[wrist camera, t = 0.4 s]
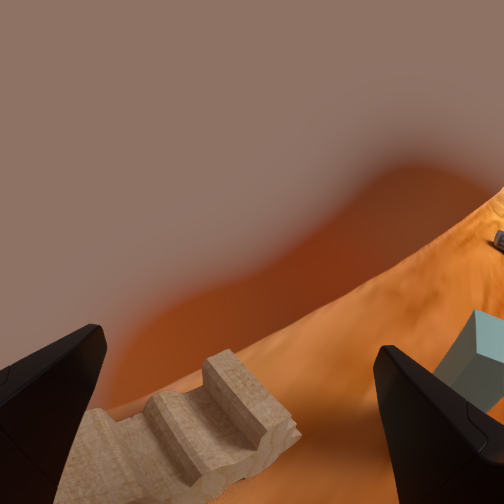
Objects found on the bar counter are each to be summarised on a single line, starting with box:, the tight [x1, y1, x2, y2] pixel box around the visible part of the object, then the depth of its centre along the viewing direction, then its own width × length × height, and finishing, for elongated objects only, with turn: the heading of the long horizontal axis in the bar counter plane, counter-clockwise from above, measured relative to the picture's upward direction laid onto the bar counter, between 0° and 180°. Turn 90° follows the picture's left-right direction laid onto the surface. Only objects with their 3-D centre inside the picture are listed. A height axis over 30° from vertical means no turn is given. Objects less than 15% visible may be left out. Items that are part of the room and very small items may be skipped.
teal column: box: [432, 309, 504, 414], centre depth 17 cm, size 5×5×12 cm
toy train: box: [53, 349, 302, 504], centre depth 14 cm, size 6×17×10 cm, turn 127°
